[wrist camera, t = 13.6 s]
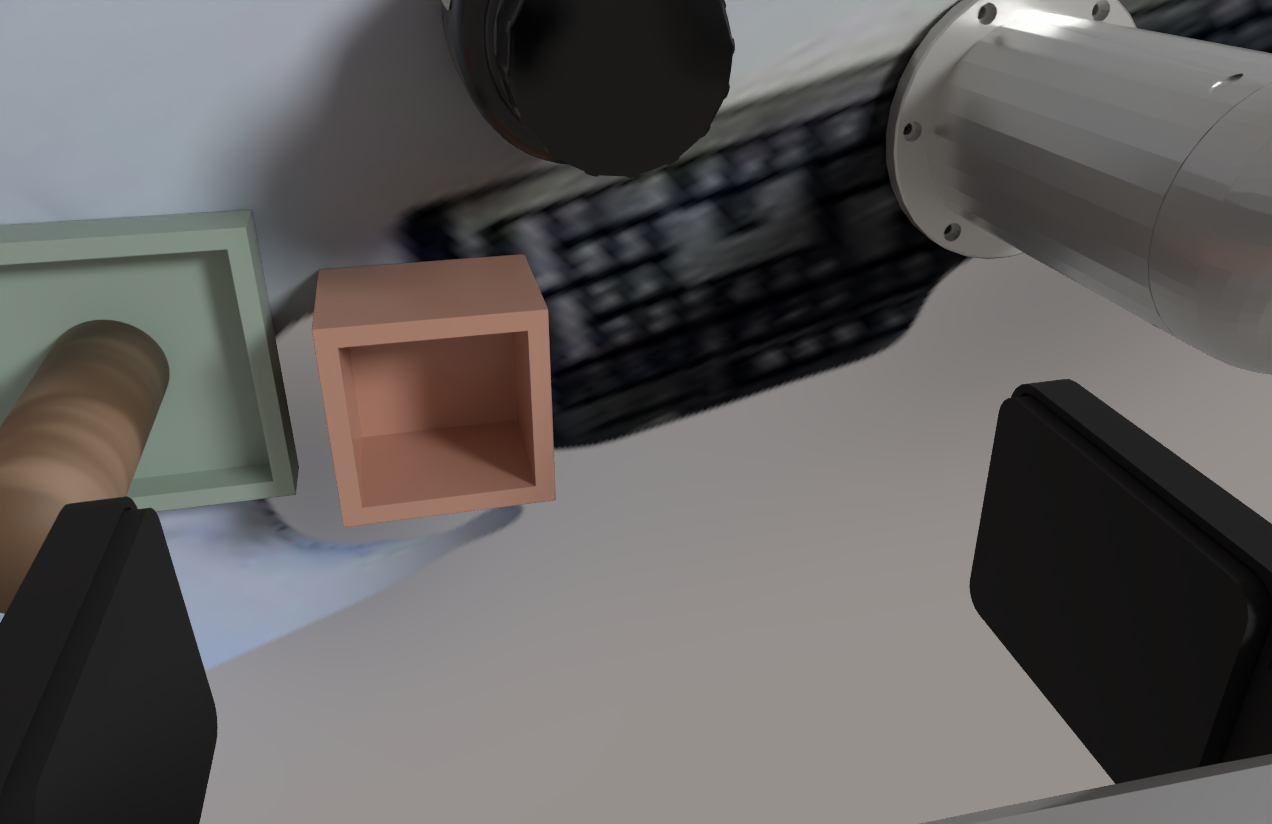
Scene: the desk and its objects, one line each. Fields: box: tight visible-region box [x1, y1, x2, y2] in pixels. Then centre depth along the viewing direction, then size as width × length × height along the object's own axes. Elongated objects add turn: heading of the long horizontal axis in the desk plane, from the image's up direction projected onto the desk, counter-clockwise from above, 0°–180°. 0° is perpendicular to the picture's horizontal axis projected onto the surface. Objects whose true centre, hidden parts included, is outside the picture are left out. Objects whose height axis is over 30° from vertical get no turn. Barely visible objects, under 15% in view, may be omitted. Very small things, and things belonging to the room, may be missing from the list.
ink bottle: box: [441, 0, 735, 178], centre depth 34 cm, size 10×9×12 cm
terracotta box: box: [312, 254, 556, 527], centre depth 41 cm, size 9×9×6 cm
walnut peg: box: [0, 320, 170, 613], centre depth 35 cm, size 4×4×13 cm
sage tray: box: [0, 210, 299, 511], centre depth 40 cm, size 13×12×2 cm
